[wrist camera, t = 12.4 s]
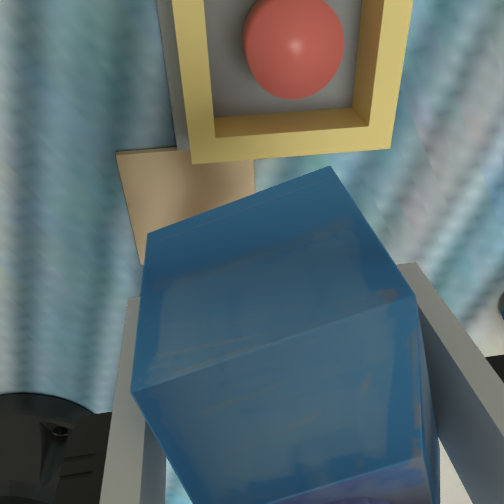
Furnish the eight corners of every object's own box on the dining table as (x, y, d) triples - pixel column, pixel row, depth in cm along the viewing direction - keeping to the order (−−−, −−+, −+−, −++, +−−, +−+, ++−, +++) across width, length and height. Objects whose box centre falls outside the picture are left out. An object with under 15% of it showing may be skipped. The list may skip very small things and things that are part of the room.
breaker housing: (178, 153, 30) (177, 180, 27) (140, -116, 22) (132, -123, 18) (381, 138, 31) (403, 162, 28) (418, -125, 23) (456, -134, 19)
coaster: (141, 260, 35) (140, 264, 34) (116, 151, 29) (115, 155, 29) (256, 249, 35) (256, 253, 35) (252, 141, 30) (253, 144, 30)
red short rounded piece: (244, 87, 26) (249, 102, 24) (239, -11, 24) (245, -4, 21) (326, 81, 27) (340, 96, 24) (332, -16, 24) (348, -9, 21)
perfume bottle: (147, 233, 14) (79, 851, 5) (330, 165, 14) (686, 704, 4) (217, 351, 18) (262, 839, 8) (364, 301, 17) (598, 760, 8)
